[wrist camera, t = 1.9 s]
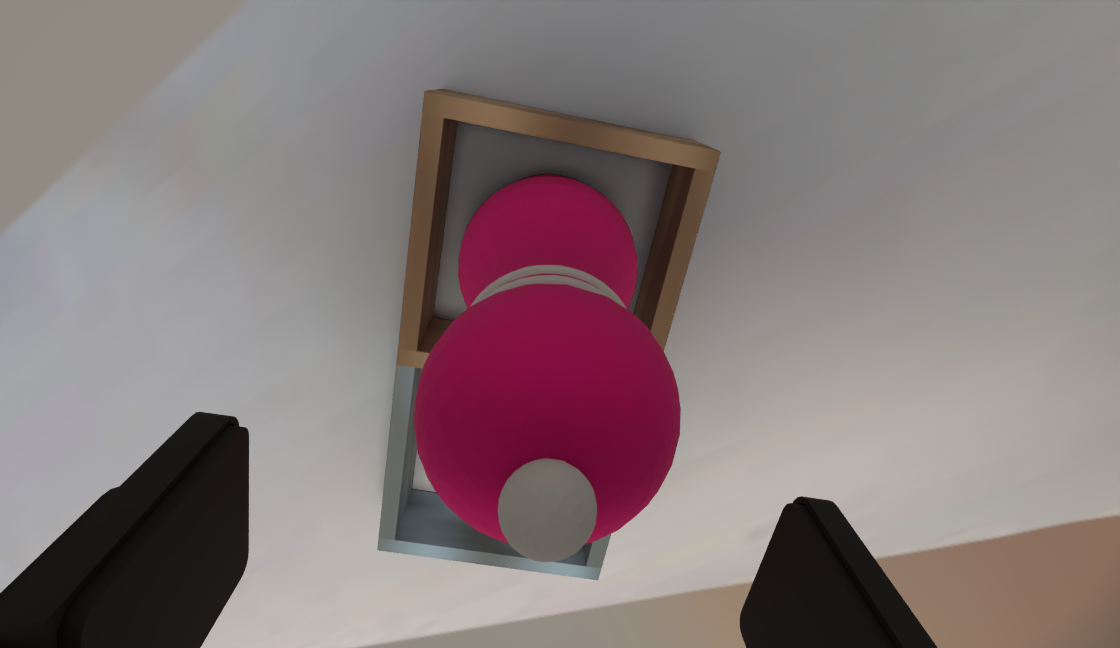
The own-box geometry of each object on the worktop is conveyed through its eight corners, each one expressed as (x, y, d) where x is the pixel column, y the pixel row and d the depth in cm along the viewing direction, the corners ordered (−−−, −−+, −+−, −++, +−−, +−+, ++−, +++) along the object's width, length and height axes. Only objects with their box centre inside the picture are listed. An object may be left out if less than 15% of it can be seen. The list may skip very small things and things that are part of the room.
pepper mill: (462, 298, 29) (317, 671, 11) (483, 148, 27) (335, 306, 8) (606, 322, 30) (698, 715, 12) (640, 178, 27) (831, 388, 9)
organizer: (697, 141, 27) (720, 151, 23) (592, 527, 35) (597, 580, 31) (442, 89, 26) (424, 90, 22) (395, 498, 34) (377, 550, 30)
